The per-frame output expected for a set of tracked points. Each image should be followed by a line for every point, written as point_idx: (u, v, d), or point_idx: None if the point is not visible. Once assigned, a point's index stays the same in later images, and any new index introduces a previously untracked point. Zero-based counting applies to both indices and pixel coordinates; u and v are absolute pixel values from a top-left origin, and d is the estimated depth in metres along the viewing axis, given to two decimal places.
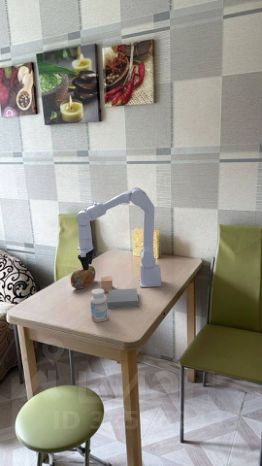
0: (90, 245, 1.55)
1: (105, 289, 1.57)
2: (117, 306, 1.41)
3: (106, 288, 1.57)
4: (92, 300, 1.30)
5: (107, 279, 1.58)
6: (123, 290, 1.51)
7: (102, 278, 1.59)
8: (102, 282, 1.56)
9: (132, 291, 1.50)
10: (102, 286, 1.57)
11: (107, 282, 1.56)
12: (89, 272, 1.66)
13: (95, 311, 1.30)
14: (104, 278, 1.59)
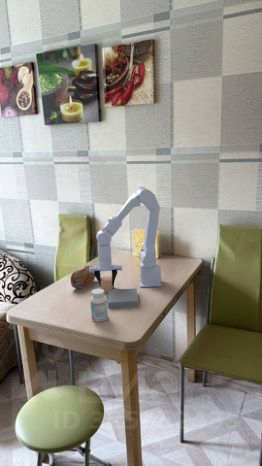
0: (101, 265, 1.54)
1: (105, 289, 1.57)
2: (117, 306, 1.41)
3: (106, 288, 1.57)
4: (92, 300, 1.30)
5: (107, 279, 1.58)
6: (123, 290, 1.51)
7: (102, 278, 1.59)
8: (102, 282, 1.56)
9: (132, 291, 1.50)
10: (102, 286, 1.57)
11: (107, 282, 1.56)
12: (89, 272, 1.66)
13: (95, 311, 1.30)
14: (104, 278, 1.59)
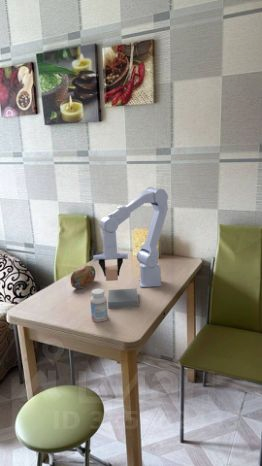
0: (106, 254, 1.48)
1: (110, 278, 1.51)
2: (117, 306, 1.41)
3: (111, 277, 1.50)
4: (92, 300, 1.30)
5: (112, 268, 1.51)
6: (123, 290, 1.51)
7: (107, 267, 1.53)
8: (107, 271, 1.50)
9: (132, 291, 1.50)
10: (107, 275, 1.50)
11: (112, 271, 1.50)
12: (89, 272, 1.66)
13: (95, 311, 1.30)
14: (109, 267, 1.52)
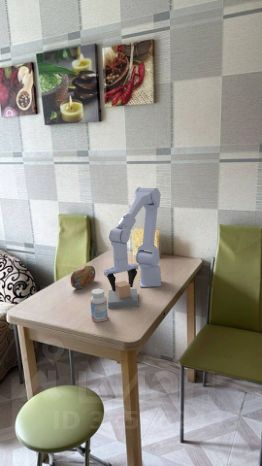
0: (120, 266, 1.41)
1: (123, 295, 1.44)
2: (117, 306, 1.41)
3: (124, 293, 1.44)
4: (92, 300, 1.30)
5: (124, 284, 1.45)
6: None
7: (117, 284, 1.46)
8: (120, 288, 1.43)
9: (132, 291, 1.50)
10: (120, 292, 1.43)
11: (125, 287, 1.44)
12: (89, 272, 1.66)
13: (95, 311, 1.30)
14: (119, 283, 1.46)
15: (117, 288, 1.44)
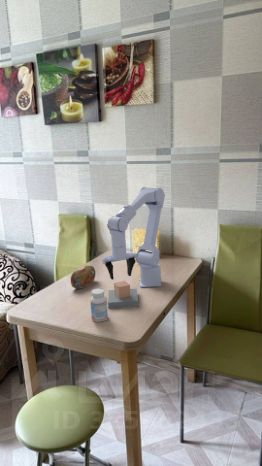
0: (117, 255, 1.41)
1: (123, 295, 1.44)
2: (117, 306, 1.41)
3: (124, 294, 1.44)
4: (92, 300, 1.30)
5: (123, 284, 1.45)
6: None
7: (117, 284, 1.46)
8: (120, 288, 1.43)
9: (132, 291, 1.50)
10: (120, 292, 1.43)
11: (125, 287, 1.44)
12: (89, 272, 1.66)
13: (95, 311, 1.30)
14: (119, 283, 1.46)
15: (117, 288, 1.44)
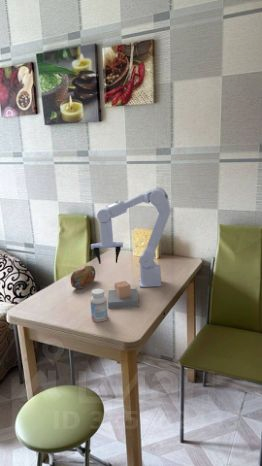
0: (103, 242, 1.59)
1: (123, 295, 1.44)
2: (117, 306, 1.41)
3: (124, 294, 1.44)
4: (92, 300, 1.30)
5: (124, 284, 1.45)
6: None
7: (117, 284, 1.45)
8: (120, 288, 1.43)
9: (132, 291, 1.50)
10: (120, 292, 1.43)
11: (125, 287, 1.44)
12: (89, 272, 1.66)
13: (95, 311, 1.30)
14: (119, 284, 1.46)
15: (117, 288, 1.44)
